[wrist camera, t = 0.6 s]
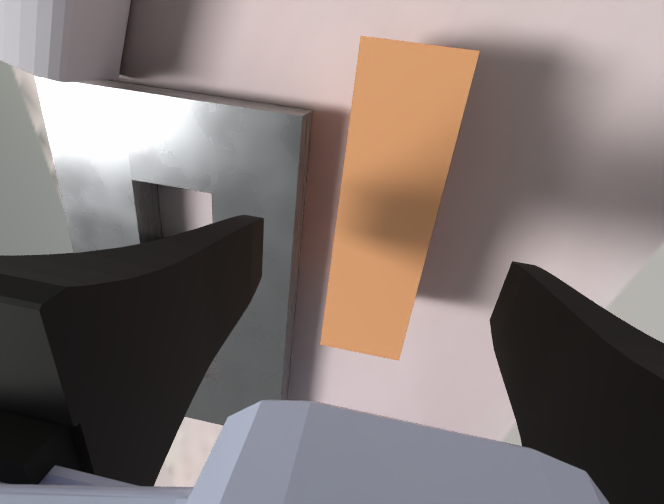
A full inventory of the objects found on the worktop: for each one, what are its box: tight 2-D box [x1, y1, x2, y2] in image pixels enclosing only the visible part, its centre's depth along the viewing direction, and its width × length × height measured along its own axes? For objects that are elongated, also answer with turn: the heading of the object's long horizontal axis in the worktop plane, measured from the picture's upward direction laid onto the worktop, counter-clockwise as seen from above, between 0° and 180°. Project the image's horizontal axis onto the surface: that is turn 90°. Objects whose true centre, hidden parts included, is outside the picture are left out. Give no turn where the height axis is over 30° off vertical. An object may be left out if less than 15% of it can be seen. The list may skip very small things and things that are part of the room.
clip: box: [320, 36, 480, 360], centre depth 16 cm, size 12×4×5 cm, turn 173°
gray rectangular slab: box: [35, 76, 312, 425], centre depth 22 cm, size 20×12×2 cm, turn 173°
